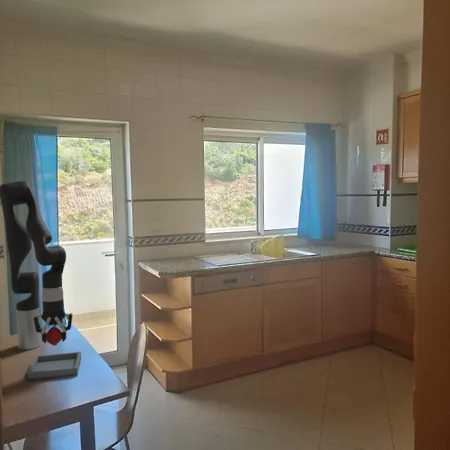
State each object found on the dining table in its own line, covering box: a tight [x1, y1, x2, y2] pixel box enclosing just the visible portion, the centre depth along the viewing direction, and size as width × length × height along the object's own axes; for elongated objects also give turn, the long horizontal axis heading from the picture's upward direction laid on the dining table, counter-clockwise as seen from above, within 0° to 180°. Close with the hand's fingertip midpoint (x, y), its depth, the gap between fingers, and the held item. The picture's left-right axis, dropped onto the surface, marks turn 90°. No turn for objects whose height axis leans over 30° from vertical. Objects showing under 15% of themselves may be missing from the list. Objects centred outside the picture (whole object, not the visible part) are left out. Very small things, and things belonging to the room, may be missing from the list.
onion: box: [46, 325, 62, 347], centre depth 160 cm, size 6×6×8 cm
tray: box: [26, 351, 82, 382], centre depth 161 cm, size 17×17×3 cm
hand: (54, 341), depth 161 cm, fingers closed on onion, 6 cm apart
